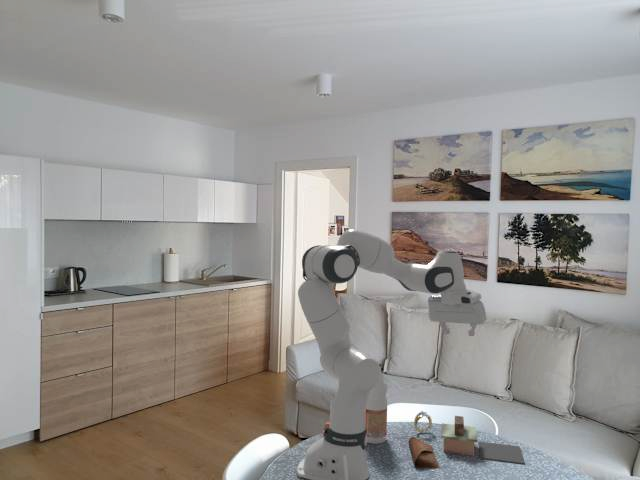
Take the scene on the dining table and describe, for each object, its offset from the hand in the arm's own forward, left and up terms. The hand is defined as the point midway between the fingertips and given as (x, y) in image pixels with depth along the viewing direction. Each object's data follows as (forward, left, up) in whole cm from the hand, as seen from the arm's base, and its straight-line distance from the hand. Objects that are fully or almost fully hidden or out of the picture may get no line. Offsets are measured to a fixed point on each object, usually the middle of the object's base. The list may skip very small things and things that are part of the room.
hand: (459, 334), depth 174 cm
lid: (+1, +2, -35) cm, 35 cm away
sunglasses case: (-11, -9, -41) cm, 44 cm away
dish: (+1, +2, -40) cm, 40 cm away
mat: (+15, +2, -40) cm, 43 cm away
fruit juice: (-29, 0, -41) cm, 50 cm away
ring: (-12, +12, -41) cm, 44 cm away
